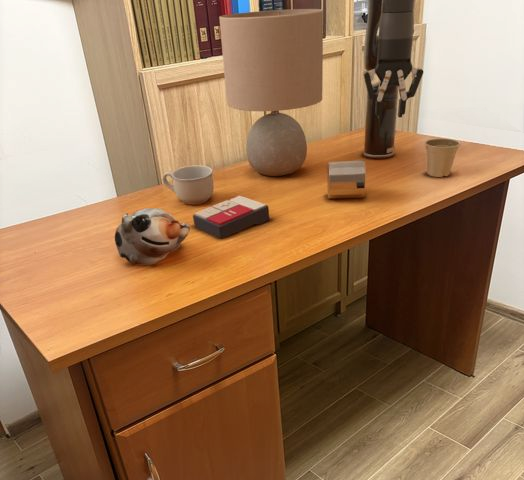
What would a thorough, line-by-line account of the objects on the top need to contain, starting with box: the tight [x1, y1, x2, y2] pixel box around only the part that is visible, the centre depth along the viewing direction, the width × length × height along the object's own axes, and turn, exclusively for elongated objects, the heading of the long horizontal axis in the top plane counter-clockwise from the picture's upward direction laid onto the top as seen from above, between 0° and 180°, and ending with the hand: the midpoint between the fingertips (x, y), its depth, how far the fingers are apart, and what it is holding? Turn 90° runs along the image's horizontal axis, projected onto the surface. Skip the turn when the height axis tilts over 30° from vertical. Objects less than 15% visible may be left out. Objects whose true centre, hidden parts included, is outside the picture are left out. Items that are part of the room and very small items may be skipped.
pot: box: [326, 160, 367, 200], centre depth 139 cm, size 9×12×9 cm
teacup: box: [161, 164, 215, 206], centre depth 144 cm, size 14×11×8 cm
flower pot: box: [424, 138, 461, 178], centre depth 150 cm, size 9×9×9 cm
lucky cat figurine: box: [114, 207, 191, 266], centre depth 113 cm, size 15×12×14 cm
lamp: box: [219, 8, 324, 177], centre depth 151 cm, size 27×27×41 cm
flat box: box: [192, 195, 270, 239], centre depth 129 cm, size 11×4×15 cm
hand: (389, 116), depth 130 cm, fingers open, 4 cm apart
